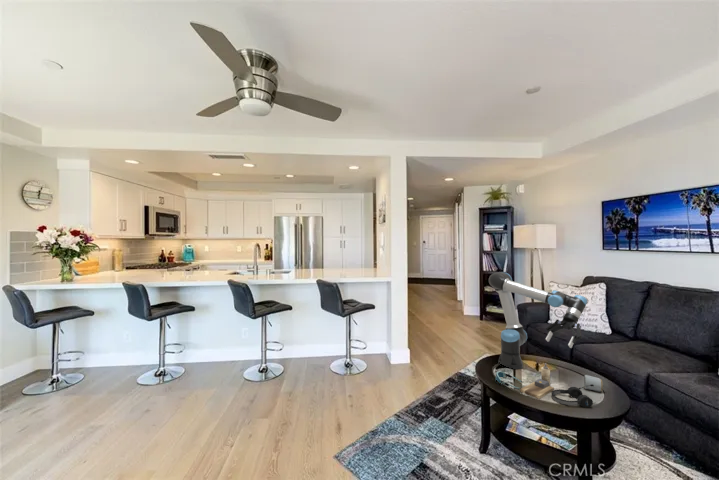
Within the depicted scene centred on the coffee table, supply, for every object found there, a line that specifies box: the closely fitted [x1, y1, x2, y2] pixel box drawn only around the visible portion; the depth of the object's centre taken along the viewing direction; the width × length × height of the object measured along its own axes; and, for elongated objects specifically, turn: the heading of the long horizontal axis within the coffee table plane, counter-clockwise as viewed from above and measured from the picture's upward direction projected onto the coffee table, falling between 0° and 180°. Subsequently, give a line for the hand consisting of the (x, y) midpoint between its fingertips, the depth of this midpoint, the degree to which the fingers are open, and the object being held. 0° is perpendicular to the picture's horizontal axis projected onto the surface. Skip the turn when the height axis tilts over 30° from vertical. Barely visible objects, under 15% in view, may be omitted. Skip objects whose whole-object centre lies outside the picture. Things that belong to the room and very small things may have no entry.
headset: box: [550, 384, 594, 408], centre depth 159 cm, size 14×10×20 cm
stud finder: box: [534, 378, 549, 389], centre depth 174 cm, size 5×6×3 cm
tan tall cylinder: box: [540, 362, 551, 386], centre depth 179 cm, size 4×4×12 cm
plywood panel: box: [519, 381, 555, 400], centre depth 170 cm, size 10×18×2 cm, turn 125°
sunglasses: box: [495, 371, 524, 390], centre depth 181 cm, size 14×15×5 cm
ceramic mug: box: [583, 374, 604, 393], centre depth 173 cm, size 11×8×8 cm
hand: (557, 343), depth 183 cm, fingers open, 13 cm apart
